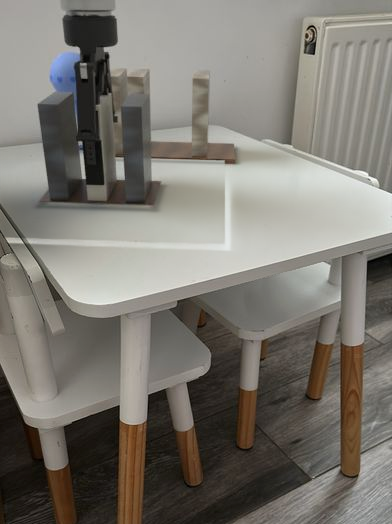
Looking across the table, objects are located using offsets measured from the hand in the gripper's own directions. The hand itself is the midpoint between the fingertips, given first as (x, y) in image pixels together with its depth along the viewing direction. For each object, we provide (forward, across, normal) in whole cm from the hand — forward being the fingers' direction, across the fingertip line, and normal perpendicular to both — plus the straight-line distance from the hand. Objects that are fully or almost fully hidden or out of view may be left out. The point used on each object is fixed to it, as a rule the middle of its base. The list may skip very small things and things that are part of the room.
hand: (101, 173), depth 90 cm
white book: (+3, 0, 0) cm, 3 cm away
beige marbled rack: (+4, +27, -9) cm, 29 cm away
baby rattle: (+4, +29, +10) cm, 31 cm away
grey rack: (+4, 0, 0) cm, 4 cm away
